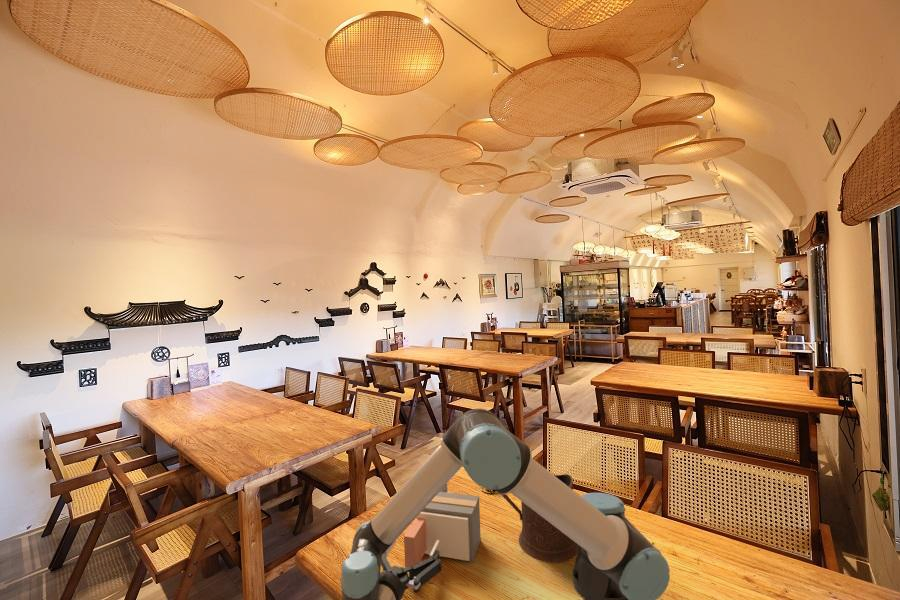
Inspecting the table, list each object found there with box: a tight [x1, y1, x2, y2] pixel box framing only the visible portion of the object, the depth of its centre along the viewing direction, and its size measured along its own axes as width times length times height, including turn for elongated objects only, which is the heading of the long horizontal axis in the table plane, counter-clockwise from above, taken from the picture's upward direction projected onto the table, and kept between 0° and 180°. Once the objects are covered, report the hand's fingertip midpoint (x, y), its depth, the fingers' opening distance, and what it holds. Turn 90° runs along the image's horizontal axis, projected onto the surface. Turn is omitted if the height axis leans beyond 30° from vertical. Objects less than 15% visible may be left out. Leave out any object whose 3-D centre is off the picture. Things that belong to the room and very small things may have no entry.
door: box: [403, 511, 470, 568], centre depth 106 cm, size 16×10×12 cm, turn 73°
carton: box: [422, 492, 482, 563], centre depth 116 cm, size 18×10×14 cm, turn 73°
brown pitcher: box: [500, 473, 579, 564], centre depth 117 cm, size 18×24×25 cm
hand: (416, 541), depth 108 cm, fingers open, 13 cm apart
